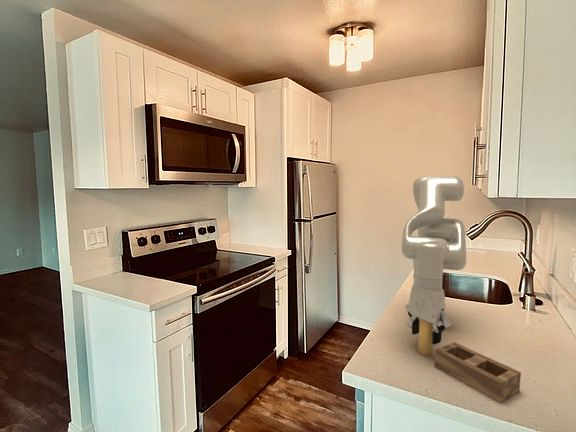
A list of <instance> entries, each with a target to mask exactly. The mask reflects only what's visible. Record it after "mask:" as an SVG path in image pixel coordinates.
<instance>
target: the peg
mask: <svg viewBox="0 0 576 432" xmlns="http://www.w3.org/2000/svg"><path fill="white" fill-rule="evenodd" d="M432 333H433V324H432V323H429V322H427V321H424V320H422V319H420V322H419V333H418V345H417V346H418V348H417V352H418V353H419V354H420V355H423V356H425V357H426V356H432V354H433V346H434V344H432Z"/></svg>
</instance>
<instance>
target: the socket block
mask: <svg viewBox="0 0 576 432" xmlns="http://www.w3.org/2000/svg"><path fill="white" fill-rule="evenodd" d="M433 364H434V367H435V368H437V369H438V370H440V371H442V372H443V373H445V374H446V375H449V376H451V377H453V378H455V379H457V380H458V381H460V382H462V383H463V384H466V385H467V386H469V387H470V388H473V389H474V390H477V392H480V393H482V394H483V395H484V396H485V395H486V397H489V398H491V399H492V400H495V401H497V402H498V403H502V402H503V400H504V401H505V400H507V399H508V398H510V397H512V396H514V395H516V394H517V393H518V392H520V386H521V375H522V372H521V371H519V370H517V369H515V368H512V367H510V366H508V365H505V364H503V363H501V362H499V361H497V360H495V359H493V358H490V357H488V356H486V355H484V354H481V353H479V352H477V351H475V350H473V349H470V348H468V347H466V346H463V345H461V344H459V343H457V342H456V341H454V342H451V343H449V344H446V345H445V346H441V347H438V348H436V349H435V350H434V363H433Z"/></svg>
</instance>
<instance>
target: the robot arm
mask: <svg viewBox="0 0 576 432" xmlns="http://www.w3.org/2000/svg"><path fill="white" fill-rule="evenodd" d="M412 184H413V186H412V193H413V198H414V202H415V204H416V208H417V212H416V213H415V214H413V215H412V216H411V217H410V218H409V219H408V220H407V222H406V223H405V225H404V228H403V231H402V239H401V254H402V256H403V257H405V258H406V259H409V260H412V263H413V274H412V277H413V283H412V287H411V290H410V294H409V301H408V303H407V304H406V305H405V306H404V309H405V310H406V312H407V314H408V316H409V318H408V319H407V322H406V323H407V325H408V326H409V327H410V328H411V334H412V335H417V334H418V335H419V322H420V319H422V320H424V321H427V322H429V323H432V324H433V333H432V344H433V346H436V345H438V344H440V343H441V341H442V332H444V330H446V329H447V328H449V327H450V326H452V325H453V323H452V321H451V320H450V318H449V317H448V314H447V313H446V312H447V311H446V297H445V295H446V294H445V290H444V289H443V274H444V272H443V271H444V270H447V271H449V270H450V271H461V270H463V269H465V267H466V263H467V243H466V229H465V228H466V227H465V225H464V223H463V221H462V220H460V219H458V218H448V217H447V218H445V215H446V214H445V213H446V212H445V209H446V208H445V207H446V206H445V202H446V201H447V202H449V201H450V202H459V201H461V200H462V199H463V196H464V193H465V185H464V182H463V179H462V178H461V177H460V176H458V175H425V176H424V175H423V176H420V177H417V178H415V180H414V182H413V183H412ZM416 230H417V235H418V236H417V235H415V236H414V235H412V234H413V233H414V232H415V231H416Z"/></svg>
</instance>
